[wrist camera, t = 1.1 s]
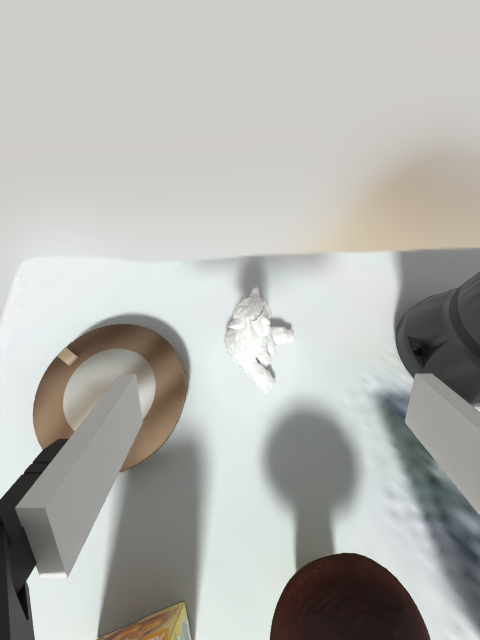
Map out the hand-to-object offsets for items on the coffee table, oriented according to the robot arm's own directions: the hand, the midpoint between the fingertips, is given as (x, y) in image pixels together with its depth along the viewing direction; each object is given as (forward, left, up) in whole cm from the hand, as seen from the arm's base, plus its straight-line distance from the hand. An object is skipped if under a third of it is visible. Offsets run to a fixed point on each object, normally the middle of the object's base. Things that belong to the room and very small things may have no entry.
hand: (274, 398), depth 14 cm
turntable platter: (+17, +6, -22) cm, 29 cm away
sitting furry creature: (+6, -9, -24) cm, 26 cm away
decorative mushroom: (-13, +8, -24) cm, 28 cm away
